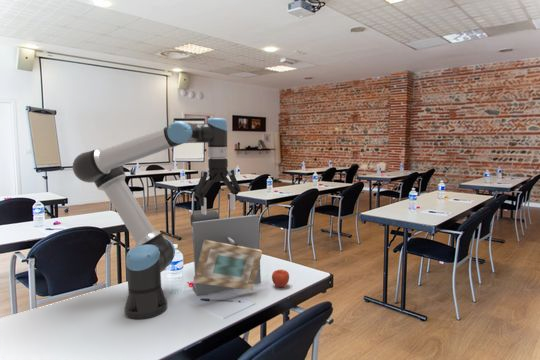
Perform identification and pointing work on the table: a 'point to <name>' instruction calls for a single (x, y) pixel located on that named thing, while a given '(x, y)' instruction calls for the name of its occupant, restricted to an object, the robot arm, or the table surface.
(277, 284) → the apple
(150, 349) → the table surface
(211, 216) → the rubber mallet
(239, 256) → the frame
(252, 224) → the panel
